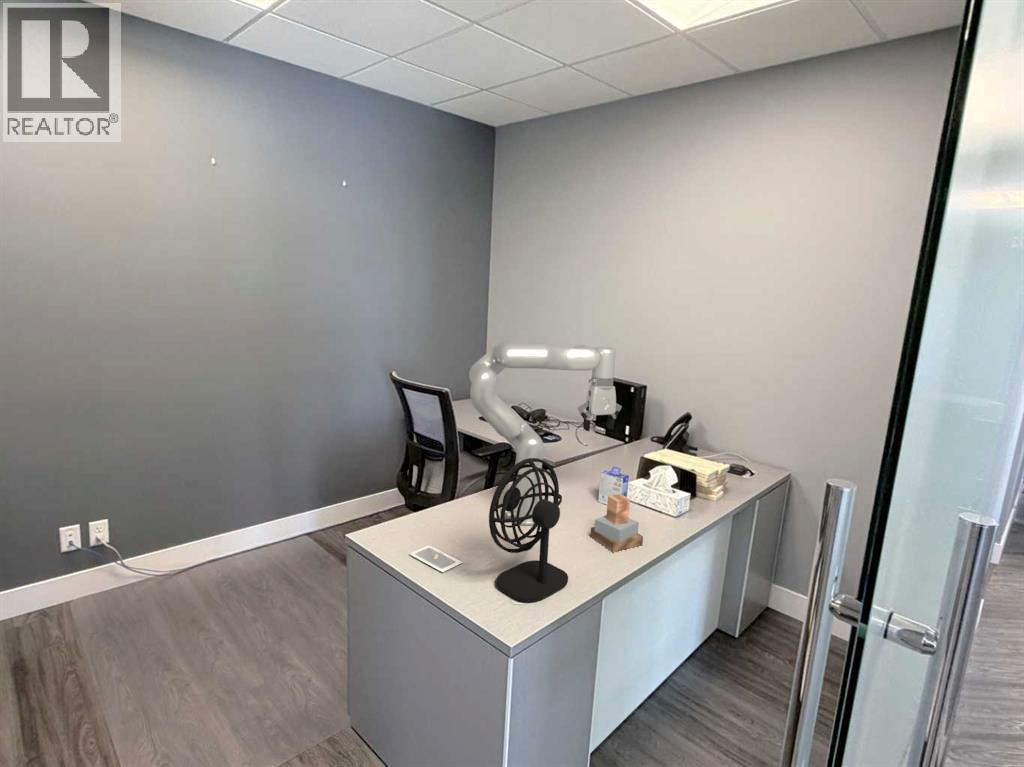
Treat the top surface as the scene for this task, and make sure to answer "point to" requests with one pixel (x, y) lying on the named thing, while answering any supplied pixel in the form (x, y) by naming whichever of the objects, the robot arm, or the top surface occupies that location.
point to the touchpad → (436, 558)
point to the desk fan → (528, 533)
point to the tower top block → (616, 529)
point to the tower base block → (615, 545)
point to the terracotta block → (618, 509)
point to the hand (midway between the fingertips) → (598, 429)
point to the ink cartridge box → (612, 484)
